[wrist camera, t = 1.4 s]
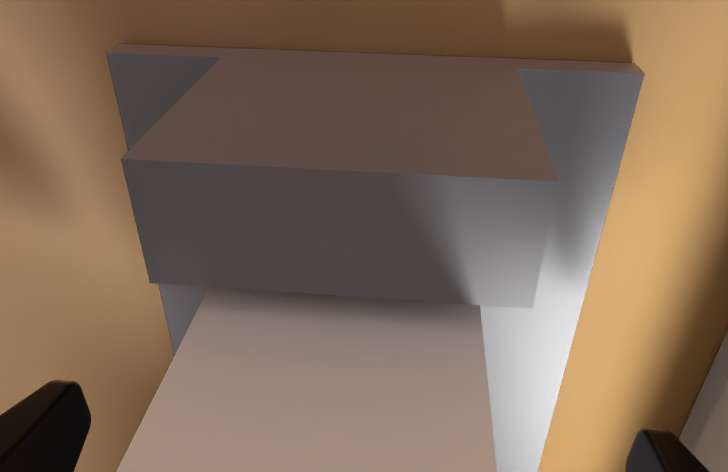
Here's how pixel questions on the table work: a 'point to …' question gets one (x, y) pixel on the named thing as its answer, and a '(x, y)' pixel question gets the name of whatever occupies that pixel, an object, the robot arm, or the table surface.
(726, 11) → the table surface
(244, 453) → the block
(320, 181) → the clip block
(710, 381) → the tray
